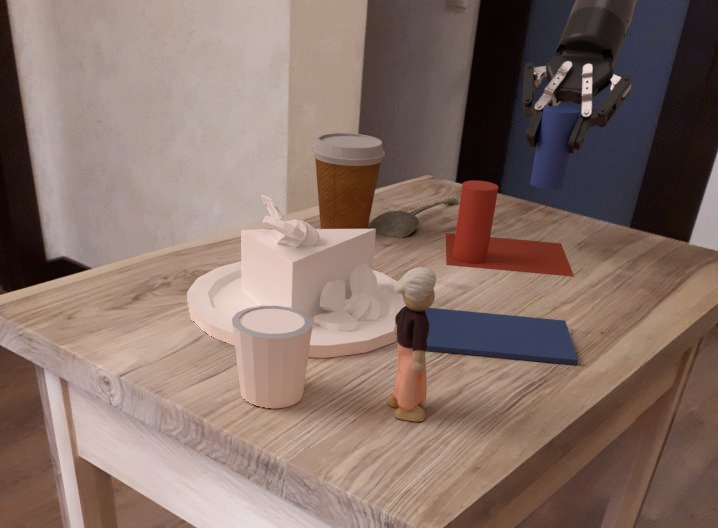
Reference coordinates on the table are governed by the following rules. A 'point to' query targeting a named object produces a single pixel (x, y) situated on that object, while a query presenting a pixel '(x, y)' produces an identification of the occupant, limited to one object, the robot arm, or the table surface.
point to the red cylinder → (475, 221)
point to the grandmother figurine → (412, 343)
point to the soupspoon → (403, 220)
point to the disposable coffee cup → (346, 178)
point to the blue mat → (500, 336)
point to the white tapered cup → (272, 354)
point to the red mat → (518, 256)
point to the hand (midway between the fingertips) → (551, 145)
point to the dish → (303, 285)
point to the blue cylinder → (553, 147)
